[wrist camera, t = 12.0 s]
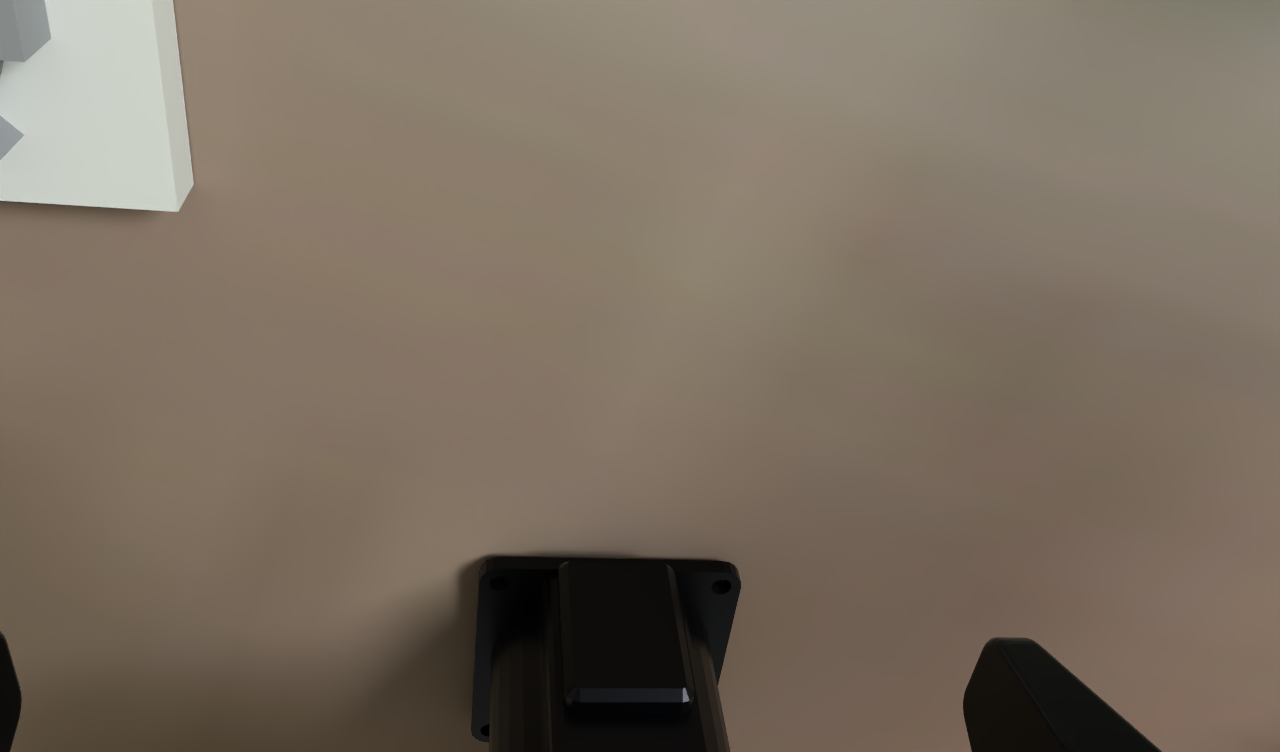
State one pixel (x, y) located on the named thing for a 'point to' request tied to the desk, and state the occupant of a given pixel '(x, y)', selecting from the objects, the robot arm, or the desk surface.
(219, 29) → the desk surface
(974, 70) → the desk surface
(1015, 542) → the desk surface
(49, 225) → the desk surface
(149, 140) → the gear board
